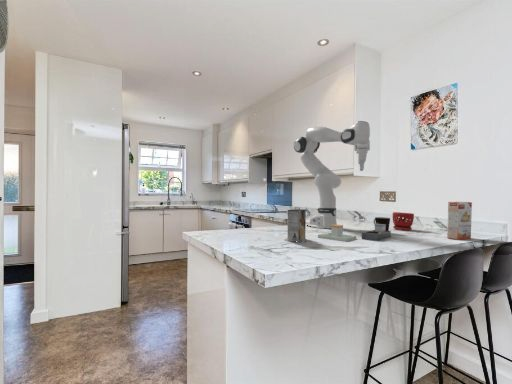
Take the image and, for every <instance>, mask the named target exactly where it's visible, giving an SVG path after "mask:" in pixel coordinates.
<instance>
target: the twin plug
mask: <svg viewBox="0 0 512 384" xmlns="http://www.w3.org/2000/svg"><path fill="white" fill-rule="evenodd" d="M374 230H375V231H379V232H385V231H386V224H376V223H375V224H374Z"/></svg>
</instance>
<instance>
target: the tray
mask: <svg viewBox="0 0 512 384" xmlns="http://www.w3.org/2000/svg"><path fill="white" fill-rule="evenodd" d="M317 238H318V239H324V240H325V239H326V240H333V241H340V242H349V241H354V240H357V235H353V234H352V235H351V234H344V233H343V238H341V237H334V236H331V232H326V233H319V234H317Z"/></svg>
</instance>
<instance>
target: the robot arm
mask: <svg viewBox="0 0 512 384" xmlns="http://www.w3.org/2000/svg"><path fill="white" fill-rule="evenodd" d="M370 136H371V127H370V123H369V122H368V121H363V120H358V121H355V123H354V124H353V125H352V126H350V127H348V128H345V129H343V131H337V130H334V129H332V128H328V127H327V126H325V127H324V126H312V127H309V128H308V129H307V130H306V132H305V136H300V137H299V138H297V139H296V140H295V141H294V143H293V149H294V151H295V152H296V153H299V154H301V155H300V161H301V162H302V164H303V165H304V167H305V168H306V170H308V172H309V173H310V174H311V175H312V176H313V177H314V184H315V186H316V187H317V190H318V194H319V207H318V208H316V211H317V212H316V214H314V215H313V216H311V217H310V220H309V223H308V224H306V226H307V225H308V226H307V227H309V226H311V227H310V228H316V229H331V225H336V224H337V225H338V223H337V208H336V206H337V204H336V202H337V201H336V199H337V198H336V195H335V194H334V189H337V188H339V187H340V185H341V183H342V179H341V177H340V176H338V174H336V173H335V172H333V171H332V170H331V169H329V168H328V167H327V166H326V165H325V164H323V163H322V162H321V160H320V159H319V158H318V157H317V156H316V155H315V153H317V151H318V149H320V146H321V143H335V142H339V143H340V142H341V143H343V144H345V145H346V144H347V145H351V146H354V147H353V148H354V152H356V154H358V155H357V156H358V158H357V159H358V160H357V162H358V165H359V171H360V172H363V171H364V170H365V163H366V159H367V154H368V152H369V151H371V150H370V149H371V148H370V147H371V140H370Z"/></svg>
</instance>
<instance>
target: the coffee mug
mask: <svg viewBox="0 0 512 384" xmlns="http://www.w3.org/2000/svg"><path fill="white" fill-rule="evenodd" d="M390 223H391V217H385V216H383V217H381V216H377V217H374V219H373V224H374V225H375V224H386V230H388V231H390Z"/></svg>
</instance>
